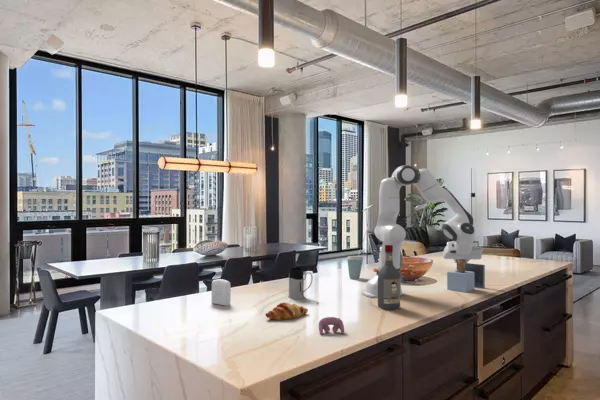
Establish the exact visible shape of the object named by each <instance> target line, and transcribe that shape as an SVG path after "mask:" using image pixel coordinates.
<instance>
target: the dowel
mask: <svg viewBox="0 0 600 400" xmlns="http://www.w3.org/2000/svg"><path fill="white" fill-rule="evenodd" d="M457 260H458V263H456V270H457V272H459V273H465V259H457Z"/></svg>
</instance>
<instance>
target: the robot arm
mask: <svg viewBox="0 0 600 400" xmlns="http://www.w3.org/2000/svg"><path fill="white" fill-rule="evenodd" d="M411 185H413V186H415V187H416V189H417V190H418V192H419V194H420V196H421V197H422V198H423V200H425V201H426V202H428V203H438V202H444V203H446V204H447V205H448V206H449V207H450V208H451V210H452V211H453V212H454V214H455V215H454V216H452V217H451V218H449V219H448V220H446V221H445V222H444V223H442V226H441V231H442V233H443V236H445V237H446V239H448V240H450V241H447V242H446V246H445V247H444V249H443V252H442V257H443V258H444V259H445V260H453V261H454V263H455V264H457V263H458V260H457V259H465V263H468V262H469V261H471V260H481V259H482V255H483V254H482V253H483V252H484V248H483V247H481V246H474V242H475V238H476V229H475V227H474V217H473V215H472V214H471V213H469V211H467V210H466V209H465V207H464V206H463V205H462V204H461V202H459V200H458V199H457V198H456V196H455V195H454V194H453V193H452V192H451V191H450V190H449V189H448V188H443V186H441V185H440V184H439V181H438V180H437V179H436V177H435V176H434V174H433V173H432V172H431V171H430V170H429V169H428V168H419V169H417V168H416V167H414V166H411V165H410V164H409V165H408V164H404V165H400V166H398V167H396V168H394V170H393V172H392V173H391V175H390V177H386V178H384V179H382V180H381V181H380V185H379V193H378V196H379V197H378V200H379V201H378V205H379V206H378V207H379V208H378V217H377V222H376V226H375V228H374V236H375V237H376V238H377V239H378V241H380V242H382V244H381V250H380V251H379V258H378V259H379V261H378V262H379V263H378V265H379V267H378V268H376V267H374V268H373V269H372V270H373V272H375V273H376V274H375V275H374V276H372V278H370V279H369V280H368V281H366V285H365V290H364V289H362V290H361V295H363V296H366V297H369V298H378V272H379V271H380V270H381V268H382V267H383V266H384V265H385V245H393V252H392V257H393V266H394V267H395V268H396V269H397V270H398V271H399V273H400V276H401V270H400V254H401V250H402V249H401V248H402V246H403V242H404V240H405V239H406V235H407V233H406V229H405V228H404V227H403V226H401V225H400V224H398V223H397V219H398V216H399V214H400V208H401V207H400V202H401V200H400V191H401V188H402V186H405V187H406V186H411ZM401 283H402V282H400V296H402V295H403V294H404V293H403V290H402V284H401Z"/></svg>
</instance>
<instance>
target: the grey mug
mask: <svg viewBox="0 0 600 400" xmlns="http://www.w3.org/2000/svg"><path fill="white" fill-rule="evenodd" d="M308 274H309V275H310V276H311V281H310V284H309V285H308V287H307V288H305V289H304V287H305V286H304V284H305V283H304V281H306V278H307V277H306V276H307V275H308ZM312 283H313V274H312V273H311V272H309V271H308V272H306V273H305V274H304V268H301V267H291V268H289V269H288V299H293V300H294V299H295V300H297V299H298V300H300V299H304V298H305V294H304V293H305V292H306V291H307V290H308V289H309V288H310V287H311V285H312Z"/></svg>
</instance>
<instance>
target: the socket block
mask: <svg viewBox="0 0 600 400" xmlns="http://www.w3.org/2000/svg"><path fill="white" fill-rule="evenodd" d="M446 275H447V277H446V280H447V281H446V284H447V285H446V287H447V290H449V291H455V292H462V293H469V292H471V291H474V290H475V287H474V272H471V271H465V273H459V272H457V269H454V270H450V271H447V273H446Z"/></svg>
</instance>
